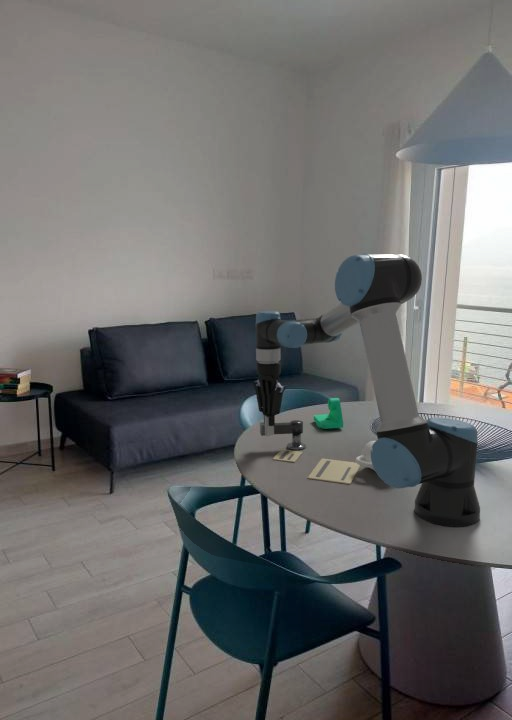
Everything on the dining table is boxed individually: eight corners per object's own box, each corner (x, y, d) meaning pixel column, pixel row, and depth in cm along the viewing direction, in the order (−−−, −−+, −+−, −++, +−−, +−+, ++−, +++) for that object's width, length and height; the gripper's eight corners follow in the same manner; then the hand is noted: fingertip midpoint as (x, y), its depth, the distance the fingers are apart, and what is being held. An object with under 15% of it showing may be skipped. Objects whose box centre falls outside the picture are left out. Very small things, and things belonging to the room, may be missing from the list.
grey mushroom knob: (302, 451, 185) (302, 437, 185) (284, 448, 188) (284, 435, 187) (307, 445, 191) (308, 431, 190) (290, 443, 193) (290, 429, 192)
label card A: (294, 462, 176) (294, 461, 176) (272, 459, 178) (272, 458, 178) (302, 452, 184) (303, 451, 184) (281, 450, 186) (281, 449, 186)
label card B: (350, 484, 159) (350, 483, 159) (307, 478, 164) (307, 477, 163) (361, 464, 174) (361, 462, 174) (321, 459, 178) (321, 458, 178)
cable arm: (301, 430, 191) (301, 420, 190) (304, 434, 187) (304, 423, 186) (259, 432, 189) (259, 421, 188) (261, 436, 185) (261, 425, 184)
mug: (382, 464, 174) (384, 438, 173) (403, 476, 165) (405, 449, 164) (348, 470, 170) (349, 444, 168) (368, 482, 161) (369, 455, 159)
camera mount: (313, 421, 217) (313, 395, 215) (332, 420, 218) (333, 394, 216) (322, 431, 205) (322, 403, 204) (343, 430, 207) (343, 402, 205)
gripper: (291, 362, 178) (291, 437, 182) (264, 357, 188) (265, 428, 192) (273, 365, 173) (273, 442, 177) (246, 360, 183) (247, 433, 187)
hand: (269, 435), depth 185 cm, fingers closed
